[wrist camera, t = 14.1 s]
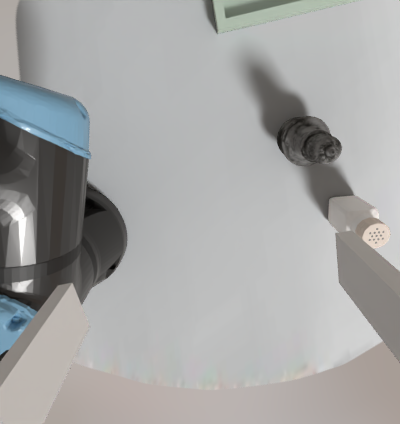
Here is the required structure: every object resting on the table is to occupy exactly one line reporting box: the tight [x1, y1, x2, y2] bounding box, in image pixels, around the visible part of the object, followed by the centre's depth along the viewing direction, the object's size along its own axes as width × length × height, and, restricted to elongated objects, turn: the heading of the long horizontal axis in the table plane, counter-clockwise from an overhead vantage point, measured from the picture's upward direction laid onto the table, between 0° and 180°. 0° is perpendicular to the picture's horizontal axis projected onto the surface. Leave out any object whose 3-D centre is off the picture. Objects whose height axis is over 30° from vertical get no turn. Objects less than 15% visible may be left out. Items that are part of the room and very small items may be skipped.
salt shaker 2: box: [328, 195, 391, 248], centre depth 40 cm, size 4×4×10 cm
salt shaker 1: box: [277, 116, 342, 166], centre depth 36 cm, size 6×6×12 cm
